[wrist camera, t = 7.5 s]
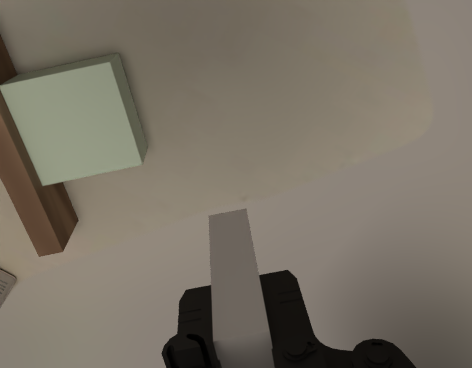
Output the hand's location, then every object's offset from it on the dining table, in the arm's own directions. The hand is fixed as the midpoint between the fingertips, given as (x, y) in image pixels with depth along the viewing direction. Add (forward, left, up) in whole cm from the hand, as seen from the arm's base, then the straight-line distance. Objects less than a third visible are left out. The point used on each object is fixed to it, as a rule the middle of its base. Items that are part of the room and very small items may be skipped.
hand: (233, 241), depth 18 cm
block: (+11, -1, -21) cm, 24 cm away
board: (+16, -1, -21) cm, 26 cm away
